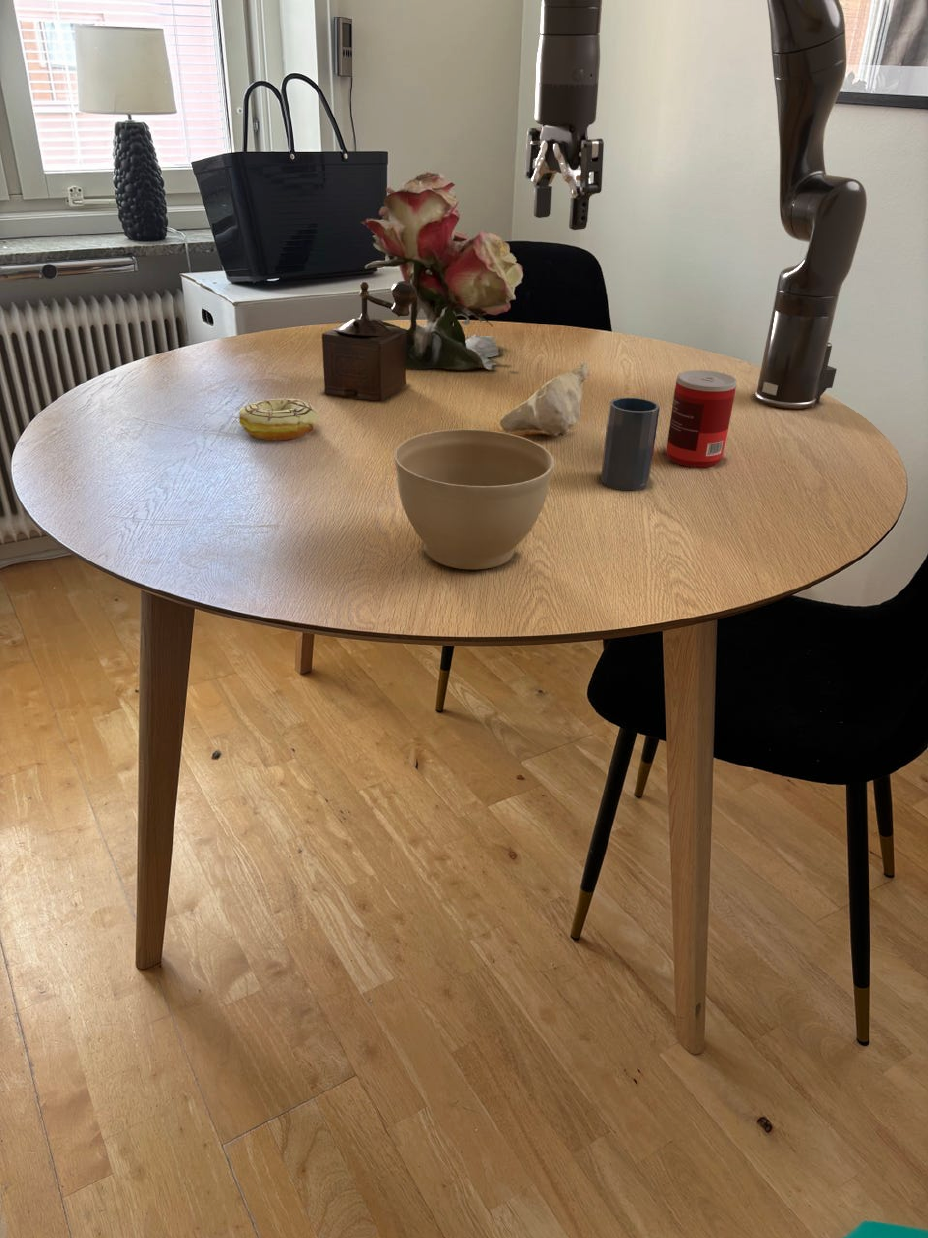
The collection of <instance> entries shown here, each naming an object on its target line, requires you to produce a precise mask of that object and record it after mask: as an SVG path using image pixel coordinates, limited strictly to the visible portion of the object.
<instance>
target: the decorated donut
mask: <svg viewBox="0 0 928 1238" xmlns="http://www.w3.org/2000/svg"><path fill="white" fill-rule="evenodd" d="M238 414H239V416H238V420H239V424H240V426H241V427H242V428H243V430H244V431H245V432H246V433H247V434H248V435H250V436H251V437H254V438H256V439H260V440H264V441H270V442H271V441H278V440H279V441H280V440H282V441H286V440H292V439H293V440H294V439H298V438H300V437H302V436H305V435H307V434H308V433H310V432H312V431H313V429H314V428H316V427H317V425H318V424H319V413H318V411H317V408H315V406H313V405H311V404H310V403H309V402H306V401H304V400H301V399H299V398H298V399H297V398H271V399H270V398H269V399H261V400H256V401H252V402H250V403H248V404H245V405H244V406H243V407H241V408H240V410H239V412H238Z"/></svg>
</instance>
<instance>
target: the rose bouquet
mask: <svg viewBox="0 0 928 1238" xmlns="http://www.w3.org/2000/svg"><path fill="white" fill-rule="evenodd" d="M454 186H456V184H455V182H453V181H451V180H448V179H446V178H445V175H444V174H442V173H438V172H437V173H434V172H432V171H424V173H422V174H419V175H416V176H415V177H414V178H412V179H408V180H406V181H405V182H403V183H401V188H400V189H398V190H397V191H396V190H394V189H392V187H391V186H388V187H385V191H386V193H387V195H386V197H385V198H384V199H383V205H384V206H381V207H380V209H379V211H378V215H379V216H381V218H382V219H378V218H366V219H365V220H363V221H361V222H360V224H363V225H365V226H366V227H367V228H368V229H369V230H370V231H371V233H373V234H374V235H373V236H372V238H374V240H375V241H374V242H373V241H371V244H372V245H373V247H374V248H375V249H376V250H377V251H379V252H382V253H384V254H385V255H386V257H387V258H388V260H376V261H371V262H370V263H368V264H366V265H365V266H364V269H371V268H376V267H377V268H396V267H397V268H398V270H399V273H400V275H401V278H402V281H406V282H409V283H411V284H412V285H413V286H414V287H415V288H416V291H417V296H416V299H415V300H414V301H413V302H412V303H411V304H410V305H409V312H410V314H409V315H410V316H409V321H410V324H409V327H408V328H407V329H406V369H413V370H426V369H434V368H435V369H436V368H439V369H445V370H455V371H470V370H476V369H481V368H482V369H486V370H489V371H492V370H493V368H492V367H493V366H499V367H503V366H504V367H505V365H504V364H503V365H502V364H498V363H496V362H494V361H492V360H491V359H490V358H491V357H495V356H499V349H498V345H497V343H496V340H495V337H494V336H491V335H485V336H483V335H478V334H476V333H475V334H474V335H472V336H470V337H466V334H465V331H464V327H463V326H462V325H465V326H468V325H470V324H471V320H470V318H469V317H470V316H474V317H475V318H476V319H478V321H479V322H480V323H481V322H486V323H488V324H489V325H490V326H491V327H494V325H493V324H492V323H490V321H489V320H487V319H486V318H485V317H484V316H487V315H492V316H497V315H499V314H502V313H506V312H509V310H511V302H510V301H512V300H513V301H514V300H516V299H517V298H516V295H515V290H516V287H518V286H519V285H520V284H522V283H523V281H522V280H523V277H524V272H523V266H522V265H521V264H520V263H517V261H518V260H517V257H515V255H514V254H513V253H512V252H510V250H511V247H510V244H509V243H507V242H506V241H504V239H502V238H501V236H500V235H498V234H497V233H493V232H489V231H486V230H481V231H477V232H476V234H474V235H473V236H471V237H470V236H468V235H467V233H464V232H462V231H458V230H455V228H456V226H457V225H458V223H459V222H460V218H461V214H460V212H459V210H458V209H456V208H457V206H458V204H459V201H458V200H457V199H456V195H457V193H456V192H455V191H452V188H453V187H454ZM446 309H447V310H446ZM421 310H422V312H423V313H424V315H425V316H426V321H425V325H419V324H418V323H417V318H418V315H419V313H420V311H421ZM443 310H446V311H445V312H444V314H443V315H442V313H443ZM460 316H462V317H464V318H465V319H466V320H464V321H461V323H462V324H461V323H460V321H459V319H458V318H457V317H460ZM372 319H376V320H378V321H379V322H381V323H383V324H384V325H385V326H390V327H397V328H401V327H400V326H398V325H396V324H393V323H390V322H387V321H383V320H382V319H380V318H378V317H375V316H374V317H372Z"/></svg>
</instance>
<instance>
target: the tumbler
mask: <svg viewBox="0 0 928 1238" xmlns="http://www.w3.org/2000/svg"><path fill="white" fill-rule="evenodd" d="M660 409H661V407H660V405H659V403H657V402H656V401H653V400H650V399H646V398H639V397H628V396H627V397H625V396H624V397H617V398H614V399H611V401H609V404H608V413H607V420H606V421H607V422H606V430H605V437H604V438H605V439H604V447H603V456H602V465H601V473H600V474H601V475H600V481H601V483H603V485H605V486H606V487H609V488H612V489H614V490H620V491H639V490H643V489H645V488H647V487H648V485H649V482H650V479H651V471H652V465H653V458H654V451H655V444H656V436H657V430H658V423H659V416H660Z"/></svg>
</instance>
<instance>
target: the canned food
mask: <svg viewBox="0 0 928 1238" xmlns="http://www.w3.org/2000/svg"><path fill="white" fill-rule="evenodd" d="M736 388H737V379H736V378H735V377H734V376H732V375H730V374H728V373H724V372H719V371H713V370H705V369H704V370H703V369H695V370H694V369H691V370H686V371H682V372H680V373H678V374H677V377H676V380H675V386H674V392H673V399H672V406H671V412H670V418H669V419H670V420H669V427H668V434H667V440H666V447H665V451H666V457H667V458H668V460H670V461H671V462H673V463H675V464H677V465H680V466H683V467H689V468H709V467H713V466H716V465H718V464H719V463H720V462H721V461H722V459H723V457H724V453H725V447H726V443H727V437H728V433H729V428H730V427H729V426H730V421H731V416H732V411H733V405H734V400H735V394H736Z"/></svg>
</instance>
